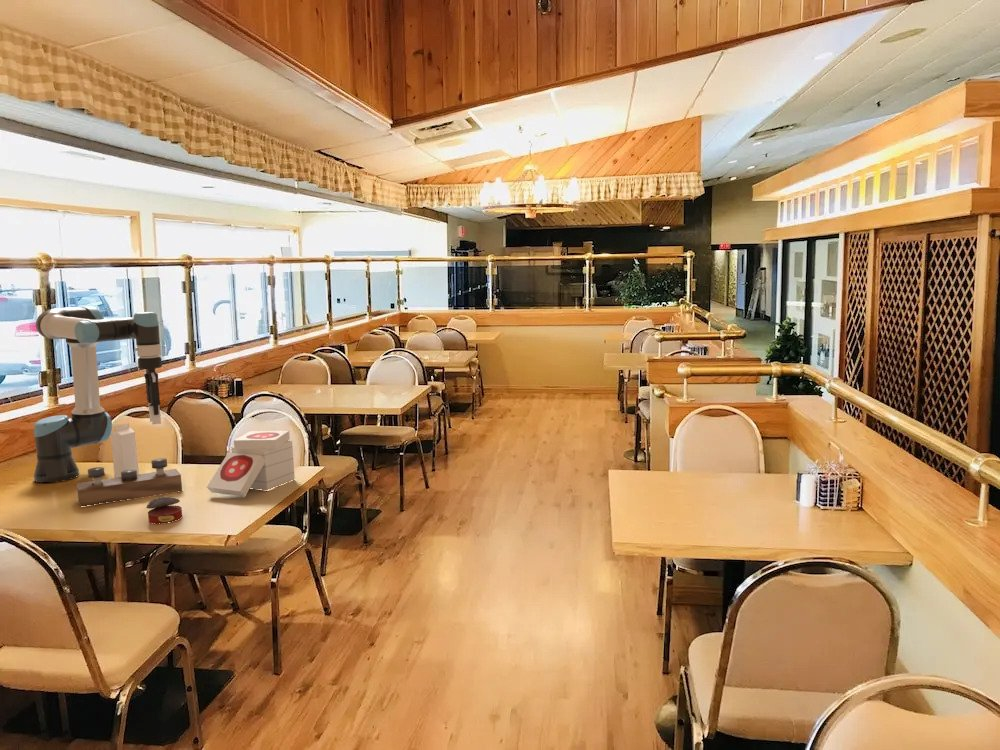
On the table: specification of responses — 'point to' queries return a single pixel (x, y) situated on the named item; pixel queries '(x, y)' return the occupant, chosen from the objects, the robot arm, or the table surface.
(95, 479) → the knob left
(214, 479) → the pizza boxes
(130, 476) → the knob middle
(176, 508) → the canned food
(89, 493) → the mount
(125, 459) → the milk
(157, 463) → the knob right
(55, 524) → the table surface
